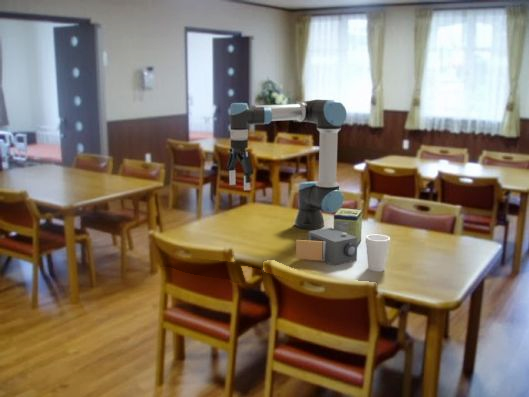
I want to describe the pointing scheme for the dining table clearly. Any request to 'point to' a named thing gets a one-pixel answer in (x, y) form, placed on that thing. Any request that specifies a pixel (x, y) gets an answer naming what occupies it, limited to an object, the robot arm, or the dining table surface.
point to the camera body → (336, 245)
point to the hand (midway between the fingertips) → (239, 187)
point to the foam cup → (377, 251)
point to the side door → (310, 250)
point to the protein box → (349, 222)
